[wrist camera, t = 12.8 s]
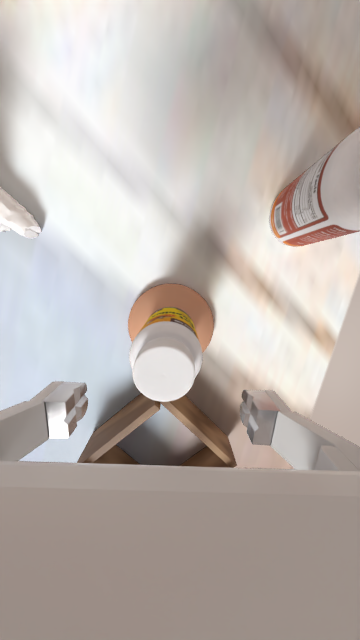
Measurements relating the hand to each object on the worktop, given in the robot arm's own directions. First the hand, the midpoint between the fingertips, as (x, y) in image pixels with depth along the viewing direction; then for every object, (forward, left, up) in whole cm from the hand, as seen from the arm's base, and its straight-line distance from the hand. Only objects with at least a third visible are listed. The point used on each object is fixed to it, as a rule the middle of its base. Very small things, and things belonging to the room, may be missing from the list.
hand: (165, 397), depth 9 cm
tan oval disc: (0, 0, -13) cm, 13 cm away
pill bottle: (0, -18, -13) cm, 22 cm away
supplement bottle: (0, 0, -12) cm, 12 cm away
